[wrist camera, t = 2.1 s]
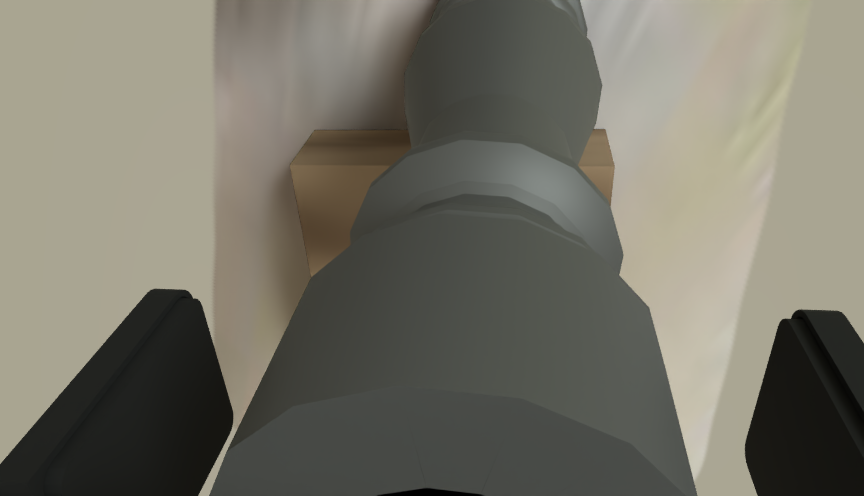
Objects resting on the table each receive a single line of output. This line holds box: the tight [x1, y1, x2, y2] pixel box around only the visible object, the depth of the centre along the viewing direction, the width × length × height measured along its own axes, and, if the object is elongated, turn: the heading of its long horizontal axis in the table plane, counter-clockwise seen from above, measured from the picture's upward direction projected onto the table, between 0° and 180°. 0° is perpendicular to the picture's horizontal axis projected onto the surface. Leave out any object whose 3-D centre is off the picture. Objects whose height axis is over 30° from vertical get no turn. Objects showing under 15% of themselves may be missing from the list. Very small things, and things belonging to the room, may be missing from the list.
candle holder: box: [209, 0, 697, 496], centre depth 18 cm, size 6×6×25 cm
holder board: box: [290, 129, 615, 277], centre depth 35 cm, size 20×14×4 cm
